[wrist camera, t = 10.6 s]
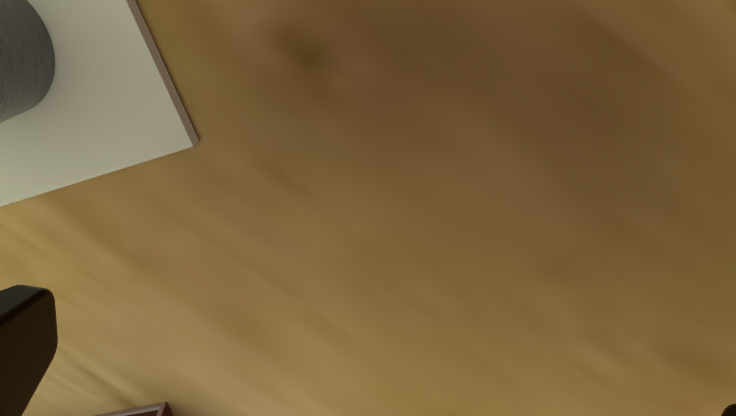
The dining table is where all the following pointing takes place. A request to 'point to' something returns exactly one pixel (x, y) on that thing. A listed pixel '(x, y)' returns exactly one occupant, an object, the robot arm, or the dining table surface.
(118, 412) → the food container
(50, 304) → the robot arm
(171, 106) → the rest pad
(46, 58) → the steel peg
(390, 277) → the dining table surface
